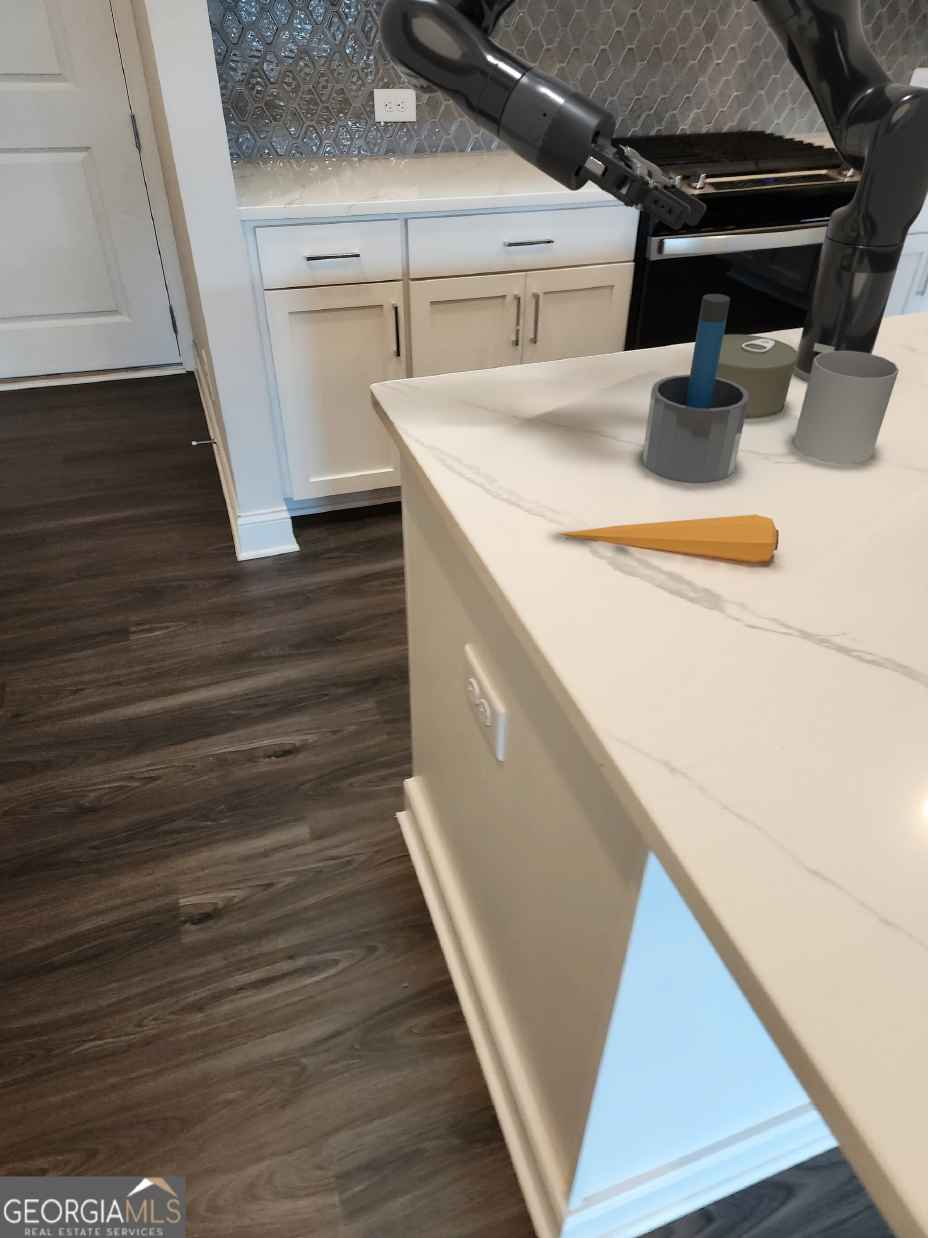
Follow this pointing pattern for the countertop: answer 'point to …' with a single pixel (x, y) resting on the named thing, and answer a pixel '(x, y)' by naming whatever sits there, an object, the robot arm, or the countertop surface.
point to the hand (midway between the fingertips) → (693, 218)
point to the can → (758, 371)
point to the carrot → (697, 537)
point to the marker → (707, 350)
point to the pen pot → (694, 431)
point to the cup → (844, 406)
